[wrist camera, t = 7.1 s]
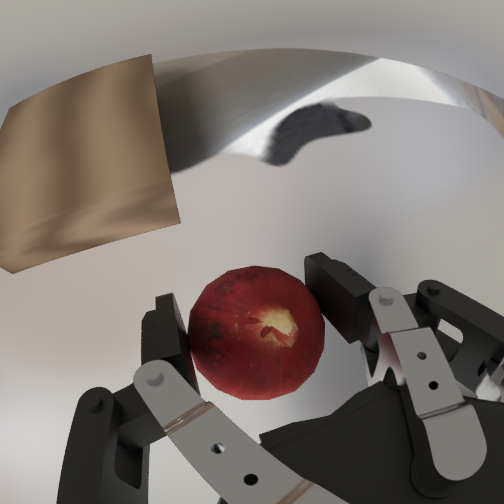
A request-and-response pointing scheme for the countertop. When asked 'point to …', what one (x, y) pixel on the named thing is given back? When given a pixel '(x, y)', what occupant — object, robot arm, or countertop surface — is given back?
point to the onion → (256, 333)
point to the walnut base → (83, 166)
